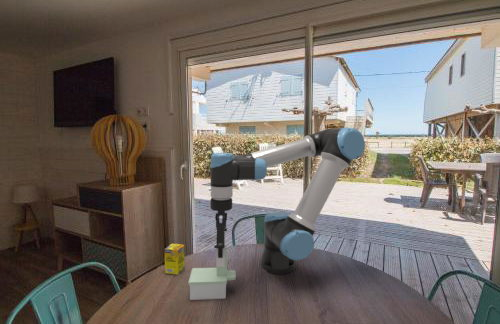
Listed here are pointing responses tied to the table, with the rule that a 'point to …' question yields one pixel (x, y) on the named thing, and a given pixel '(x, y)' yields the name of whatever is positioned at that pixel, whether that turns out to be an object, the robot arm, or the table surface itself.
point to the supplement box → (174, 259)
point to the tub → (208, 291)
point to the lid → (212, 275)
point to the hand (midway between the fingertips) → (221, 257)
